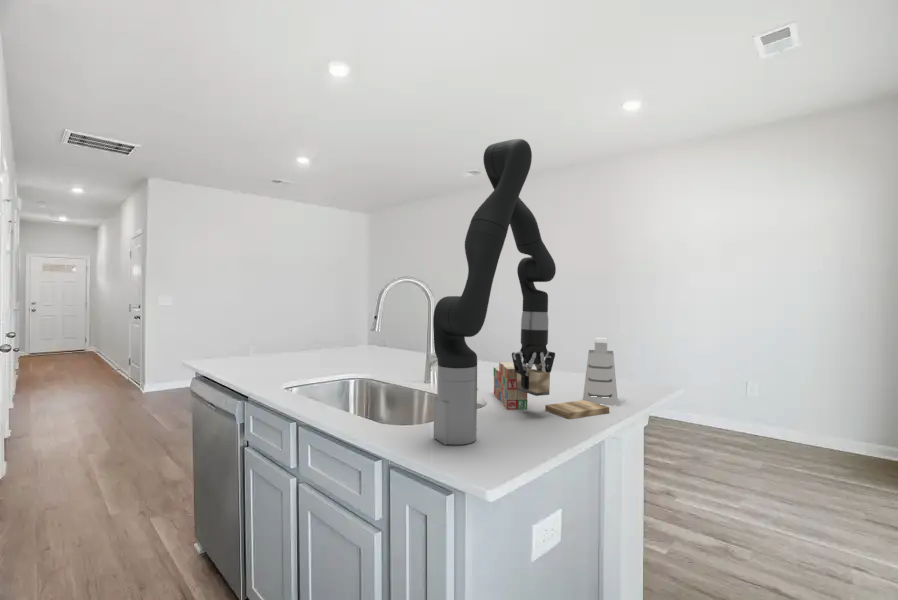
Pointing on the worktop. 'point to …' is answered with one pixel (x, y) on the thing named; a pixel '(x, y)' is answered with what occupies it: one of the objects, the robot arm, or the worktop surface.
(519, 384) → the block
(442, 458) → the worktop surface
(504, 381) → the stack of blocks
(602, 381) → the grater
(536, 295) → the robot arm
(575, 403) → the board
